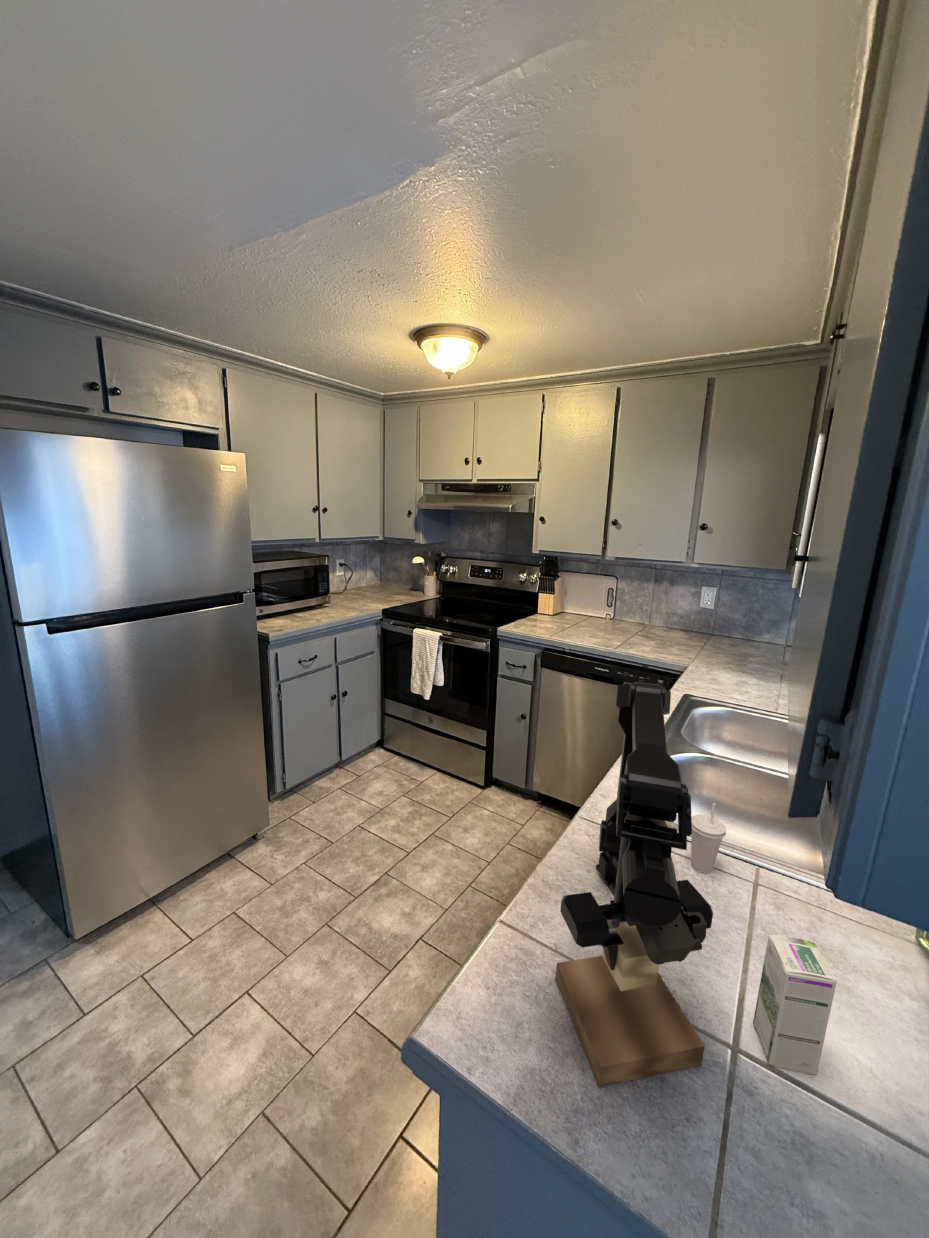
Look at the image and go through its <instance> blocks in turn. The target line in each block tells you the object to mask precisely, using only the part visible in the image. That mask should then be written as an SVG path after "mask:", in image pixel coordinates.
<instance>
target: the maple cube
mask: <svg viewBox="0 0 929 1238" xmlns="http://www.w3.org/2000/svg"><path fill="white" fill-rule="evenodd" d="M618 934H619V936H620V937H621V939H622V941H623V942H624V944H622V945H618V950H617V960H616V965H615V969H614V970H611V969H610V967H609V965H608V963H607V960H606V957H605V954H604V950H603V949H602V956H603V959H604V961H605V963H606V964H607V966H608V968H609V970H610V972H611V974H612V976H613V978H614V979H615V981H616V983H617V985H618V987H619V989H620V991H625V990H631V989H637V988H643V987H648V986H654V985H656V982H657V975H658V973H659V966H660V964H659V965H658V964H655V963H653V962H652V961H651V960H650V959H649V957H648V955H647V953H646V949H645V947H644V944H643V942H642V940H641V937H640V935H639V933H638V931H637V928H636V925H635V926H629V925H628V923H626V924H620V925H619V929H618Z"/></svg>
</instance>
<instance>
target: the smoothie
mask: <svg viewBox="0 0 929 1238" xmlns="http://www.w3.org/2000/svg"><path fill="white" fill-rule="evenodd" d="M716 805H717V804H716V802H713V803H712V806H711V812H710V815H707V814H695V815H691V820H692V834H691V835H690V838H691V839H690V840H691V842H690V843H691V851H690V852H691V853H690V854H691V855H690V857H691V858H690V859H691V862H690V863H691V868H692V869H694V870H695V871H696V872H697V873H700V874H705V875H709V874H711V873H712V871H713V868H714V866H715V863H716V860H717V856H718V853H719V850H720V848H721V844H722V842H723V838H724V837H726V835H727V827H726V825H725V824H724V823H723V822H722V821H721V820H719V819H718V818H715V813H716V812H715V811H716Z"/></svg>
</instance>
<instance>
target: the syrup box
mask: <svg viewBox="0 0 929 1238" xmlns="http://www.w3.org/2000/svg"><path fill="white" fill-rule="evenodd" d="M767 938H768V939H767V942H766V943H767V944H766V947H765V948H766V949H765V955H764V959H763V964H762V970H761V975H760V976H761V977H760V981H759V982H760V983H759V987H758V993H757V998H756V1004H755V1010H754V1016H753V1022H752V1023H753V1025H754V1029H755V1031H756V1034H757V1036H758V1039H759V1041H760V1044H761V1047H762V1049H763V1052H764V1055H765V1058H766V1060H767V1063H768V1065H770V1066H773V1067H776V1068H781V1069H784V1070H790V1071H794V1072H798V1073H803V1074H806V1075H812V1076H817V1074H818V1070H819V1066H820V1061H821V1056H822V1051H823V1047H824V1042H825V1038H826V1035H827V1029H828V1024H829V1019H830V1014H831V1009H832V1005H833V1000H834V995H835V992H836V987H837V979H836V977H835V976H834V974H833V972H832V970H831V968H830V967H829V965H828V964H827V962H826V960H825V958H824V957H823V955H822V954H821V952H820V950H819V948H818V946H817V945H816V943H815V942H814V941H810V940H805V939H801V938H797V937H790V936H783V935H776V934H775V935H774V934H768V937H767Z"/></svg>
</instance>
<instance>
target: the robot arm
mask: <svg viewBox="0 0 929 1238" xmlns="http://www.w3.org/2000/svg"><path fill="white" fill-rule="evenodd" d="M671 697H672V691H671V690H668V689H666V687H665V686H661V684H656V683H650V682H649V683H647V682H639V681H635V682H627V681H624V682H623V684H617V686H616V688H615V694H614V704H613V705H614V709H617V723H618V724H619V726H620V728H621V730H622V731H623V741H622V750H621V759H620V768H619V776H618V785H617V794H616V799H615V800H614V801H613V802H612V803H611V804H610V805H609V806H607V808H606V813H605V820H603V819H602V820H601V823H600V825H599V826H600V827H599V835H598V836H599V838H598V839H599V840H598V842H599V843H598V852H600V854H599V858H598V859H599V860H598V864H596V865H595V869H596V870H597V872H598V873H599V875H600V877H601V878H602V880H603V881H604V882H605V884H606V885H607V888H608V889H609V892H611V894H612V896H613V899H611V900H609V903H607V904H599V903H598V902H597V900H596V899H595V896H594V895H593V893H592V891H589V892H579V893H574V894H566V895H563V896H562V899H561V902H560V910H559V911H560V913H561V915H562V918H563V920H564V922H565V924H566V926H567V928H568V930H569V932H570V934H571V937H572V938H573V941H574V942H575V944H576V946H579V947H580V948H588V947H595V946H601V948H602V951H603V950H604V954H605V957H606V960H607V963H608V965H609V967H610V969H611V970H614V969H615V965H616V960H617V950H618V945H622V944H624V942H623V941H622V939H621V937H620V936H619V934H618V929H619V925H620V924H626V923H628V925H629V926H635V925H636V928H637V931H638V933H639V935H640V937H641V940H642V942H643V944H644V947H645V949H646V953H647V955H648V957H649V959H650V960H651V961H652V962H653V963H655V964H658V965H659V966H660V965H664V964H667V963H674V962H683V961H685V959H687V957H688V955H689V954H690V953H691V952H694V951H695V952H696V951H702V950H703V945H702V943H704V941H705V939H706V937H707V930H708V929H711V928H712V923H713V917H714V912H713V909H712V906H711V904H710V903H709V902H708V901H707V900H706V899H705V898H704V896H703V895H702V894H701V893H700V892H699V890H698V889H697V888H695V886H694V885H693V884H692V882H691V881H689V879H682V880H677V875H676V871H675V866H674V861H673V857H672V850H673V848H674V849H678V850H683V851H687V846H688V837H691V834H692V820H691V817H692V797H691V794H690V793H689V788H688V787H687V785H686V783H682V782H683V781H682V776H681V771H680V766H679V764H678V763H677V761H675V760H674V759H673V758H672V757H671V756H670V755H669V753H668V749H667V738H666V727H665V715H669V714H670V713H671V699H672V698H671ZM676 820H677V825H678V826H677V828H678V829H677V828H674V827H670V826H668V824H667V823H666V822H670V823H674V822H675V821H676Z"/></svg>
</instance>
